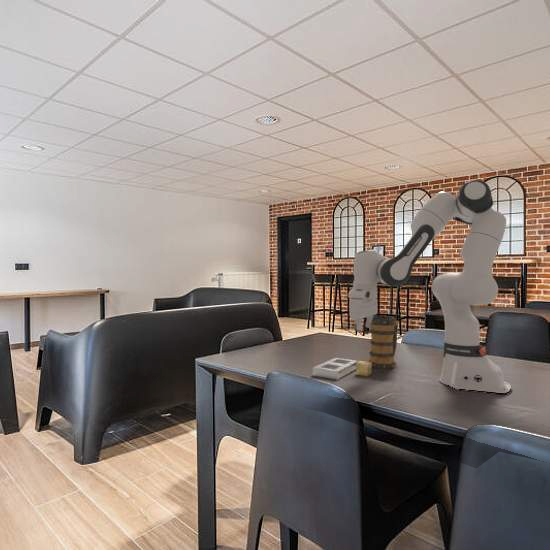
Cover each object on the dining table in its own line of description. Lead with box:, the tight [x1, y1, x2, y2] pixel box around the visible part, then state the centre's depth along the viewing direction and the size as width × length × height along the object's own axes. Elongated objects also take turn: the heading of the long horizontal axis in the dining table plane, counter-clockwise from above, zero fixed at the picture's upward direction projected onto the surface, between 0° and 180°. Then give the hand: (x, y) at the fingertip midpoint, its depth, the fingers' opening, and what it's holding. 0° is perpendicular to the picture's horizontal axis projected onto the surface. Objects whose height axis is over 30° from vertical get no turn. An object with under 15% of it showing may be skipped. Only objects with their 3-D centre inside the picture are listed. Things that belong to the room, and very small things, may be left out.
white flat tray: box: [312, 357, 359, 381], centre depth 159 cm, size 10×20×3 cm, turn 147°
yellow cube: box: [355, 360, 373, 377], centre depth 156 cm, size 4×4×4 cm
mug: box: [368, 315, 399, 370], centre depth 171 cm, size 13×17×20 cm
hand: (364, 328), depth 156 cm, fingers open, 8 cm apart
